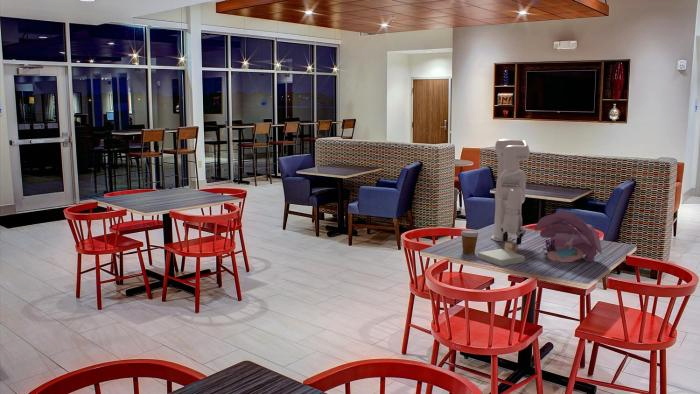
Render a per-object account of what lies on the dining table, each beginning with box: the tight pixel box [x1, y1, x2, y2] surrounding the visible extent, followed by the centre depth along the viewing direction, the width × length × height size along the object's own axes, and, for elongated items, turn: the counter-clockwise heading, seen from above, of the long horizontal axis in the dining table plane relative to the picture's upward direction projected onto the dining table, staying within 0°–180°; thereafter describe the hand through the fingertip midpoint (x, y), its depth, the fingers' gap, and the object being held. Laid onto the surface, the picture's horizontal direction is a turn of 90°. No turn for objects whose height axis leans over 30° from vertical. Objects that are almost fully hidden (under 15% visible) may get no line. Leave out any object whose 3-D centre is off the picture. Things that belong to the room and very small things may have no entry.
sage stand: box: [477, 248, 526, 267], centre depth 327 cm, size 17×17×3 cm
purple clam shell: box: [534, 210, 603, 263], centre depth 332 cm, size 35×24×28 cm
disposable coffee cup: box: [460, 229, 479, 255], centre depth 339 cm, size 10×10×12 cm
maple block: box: [503, 241, 519, 254], centre depth 340 cm, size 5×5×6 cm
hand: (511, 242), depth 339 cm, fingers open, 9 cm apart
